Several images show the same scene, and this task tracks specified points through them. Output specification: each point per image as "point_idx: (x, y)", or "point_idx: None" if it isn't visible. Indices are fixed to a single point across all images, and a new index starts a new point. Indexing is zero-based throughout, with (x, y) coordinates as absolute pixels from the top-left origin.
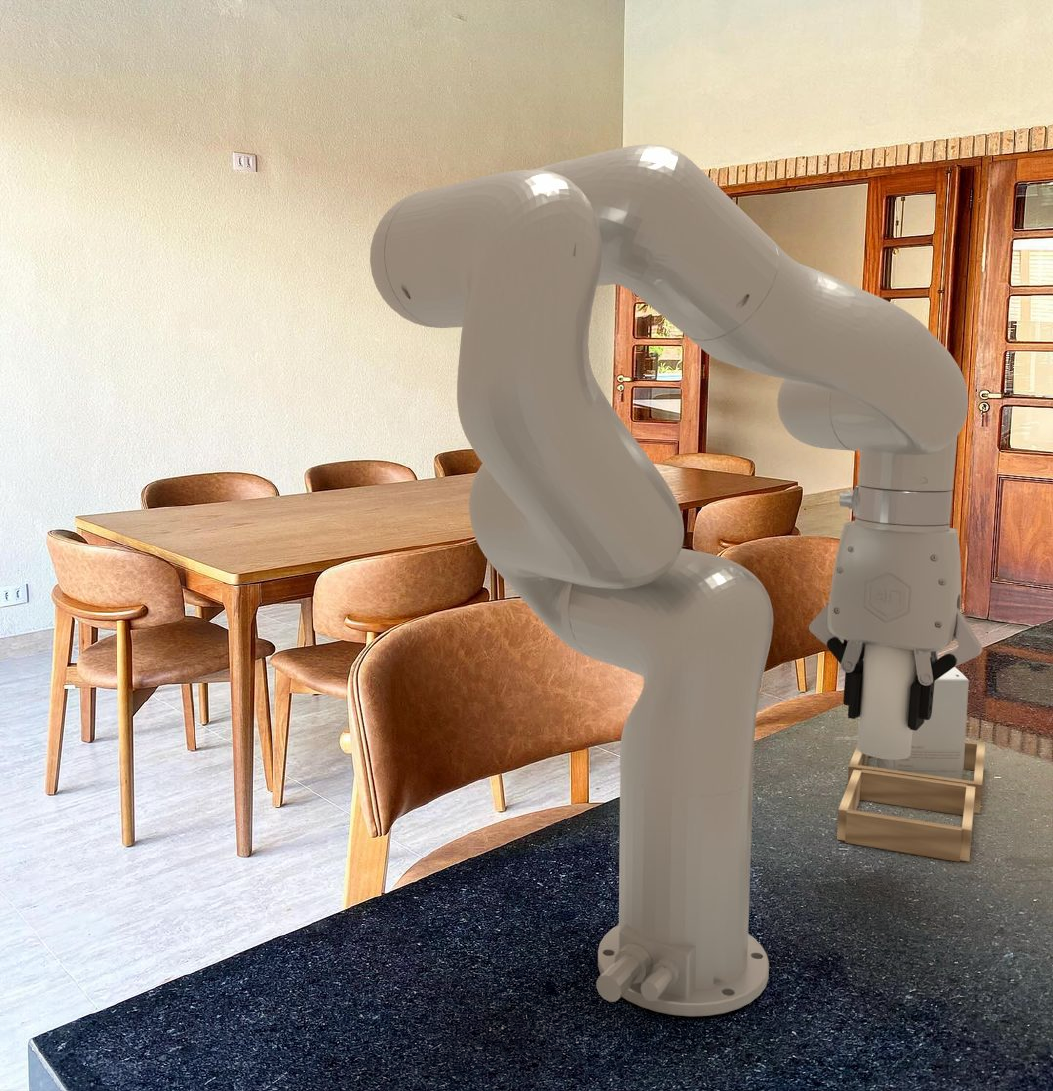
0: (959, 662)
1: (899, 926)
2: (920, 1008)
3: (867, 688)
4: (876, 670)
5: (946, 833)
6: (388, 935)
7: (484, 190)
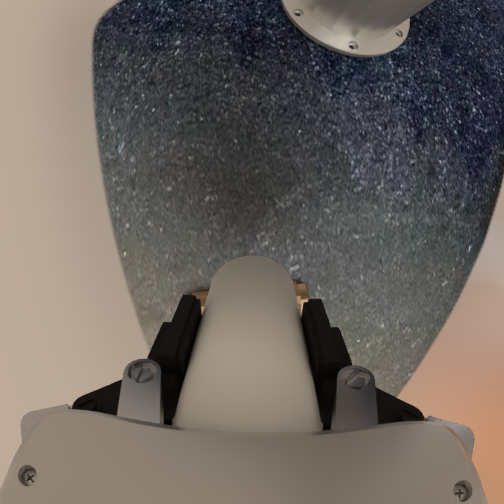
0: (68, 408)
1: (207, 140)
2: (167, 34)
3: (291, 338)
4: (272, 370)
5: (201, 304)
6: (492, 16)
7: None
